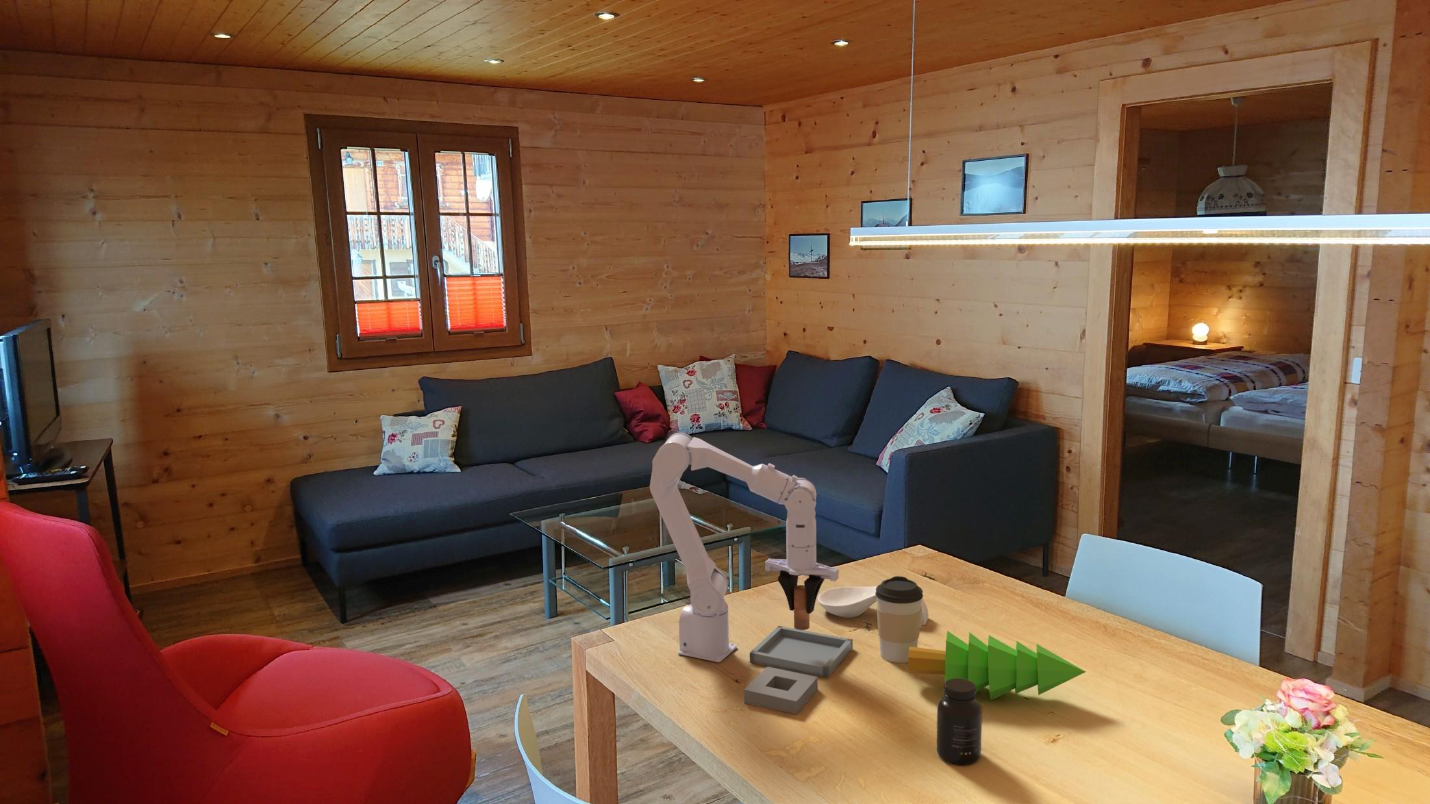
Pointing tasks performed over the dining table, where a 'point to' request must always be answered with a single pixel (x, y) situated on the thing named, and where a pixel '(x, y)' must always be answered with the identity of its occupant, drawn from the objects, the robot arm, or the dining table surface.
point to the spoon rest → (854, 601)
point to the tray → (802, 651)
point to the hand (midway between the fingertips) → (801, 610)
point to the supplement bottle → (959, 723)
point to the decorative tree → (994, 665)
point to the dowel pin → (800, 608)
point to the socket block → (781, 690)
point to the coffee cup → (898, 617)
